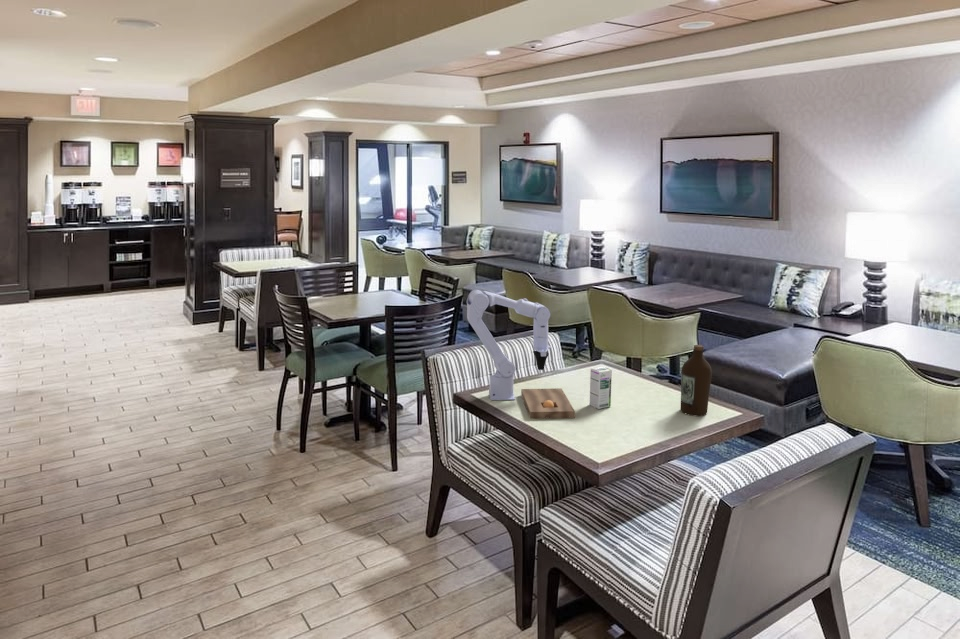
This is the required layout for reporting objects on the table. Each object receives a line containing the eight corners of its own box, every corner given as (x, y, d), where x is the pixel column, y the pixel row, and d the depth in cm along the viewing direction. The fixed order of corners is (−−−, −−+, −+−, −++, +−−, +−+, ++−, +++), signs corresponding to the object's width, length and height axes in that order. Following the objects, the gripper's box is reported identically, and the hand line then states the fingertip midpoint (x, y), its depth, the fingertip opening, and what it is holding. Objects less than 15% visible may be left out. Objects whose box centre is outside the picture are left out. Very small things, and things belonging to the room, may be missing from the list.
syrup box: (598, 409, 250) (600, 371, 247) (588, 404, 255) (590, 367, 252) (610, 407, 253) (612, 369, 249) (601, 402, 258) (602, 365, 255)
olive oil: (694, 405, 255) (699, 341, 250) (715, 414, 246) (720, 347, 240) (672, 409, 251) (676, 343, 245) (692, 418, 241) (697, 350, 236)
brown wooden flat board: (530, 418, 240) (530, 412, 240) (521, 395, 266) (521, 389, 265) (574, 417, 241) (574, 411, 241) (561, 394, 267) (561, 388, 266)
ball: (544, 409, 245) (543, 398, 247) (543, 413, 249) (541, 402, 250) (555, 408, 245) (553, 398, 247) (553, 412, 249) (552, 402, 251)
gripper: (554, 339, 254) (554, 374, 257) (548, 331, 268) (547, 363, 271) (535, 340, 254) (535, 375, 257) (530, 331, 268) (530, 364, 271)
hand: (540, 369), depth 264 cm, fingers closed
